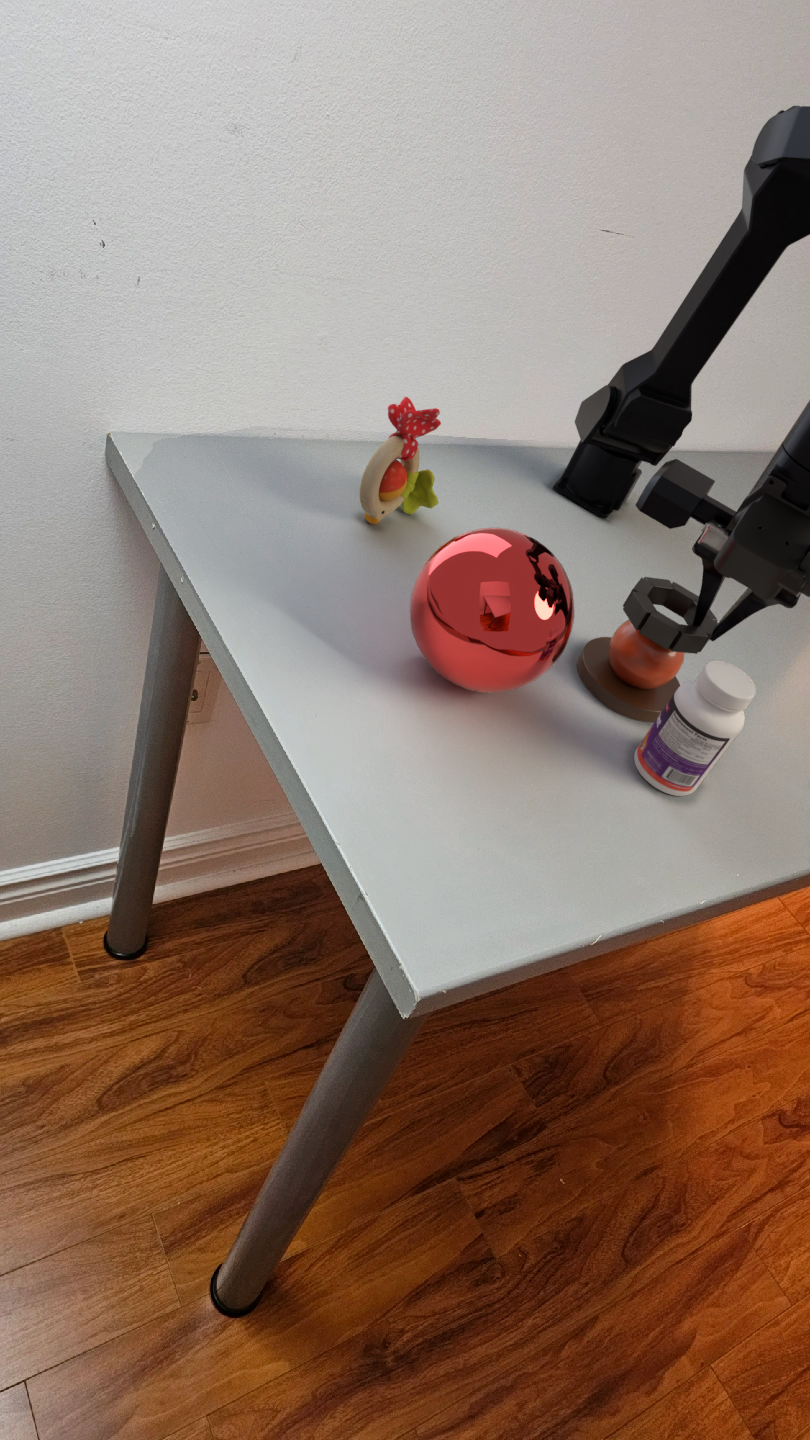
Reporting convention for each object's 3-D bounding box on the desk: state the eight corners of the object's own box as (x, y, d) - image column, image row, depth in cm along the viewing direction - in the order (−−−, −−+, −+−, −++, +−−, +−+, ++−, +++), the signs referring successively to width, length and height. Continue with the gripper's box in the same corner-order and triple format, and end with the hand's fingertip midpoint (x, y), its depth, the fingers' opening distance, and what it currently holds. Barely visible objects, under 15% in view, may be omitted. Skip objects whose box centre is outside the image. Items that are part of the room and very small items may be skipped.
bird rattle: (392, 559, 93) (449, 498, 97) (406, 474, 83) (468, 409, 87) (335, 523, 94) (394, 463, 98) (342, 435, 84) (407, 373, 88)
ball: (364, 618, 82) (418, 487, 74) (492, 620, 88) (553, 500, 80) (424, 729, 74) (489, 598, 67) (558, 723, 80) (633, 602, 73)
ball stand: (561, 678, 85) (598, 616, 81) (596, 633, 92) (631, 574, 88) (658, 738, 84) (700, 679, 79) (686, 688, 90) (726, 630, 86)
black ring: (613, 617, 81) (624, 599, 80) (638, 584, 87) (649, 566, 86) (692, 665, 80) (705, 647, 79) (713, 628, 86) (725, 611, 85)
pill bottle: (656, 738, 84) (721, 646, 77) (708, 784, 81) (778, 694, 75) (618, 758, 80) (683, 663, 74) (671, 807, 78) (742, 713, 72)
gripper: (671, 425, 68) (566, 611, 78) (934, 574, 65) (791, 748, 75) (710, 385, 77) (612, 558, 86) (945, 516, 74) (815, 679, 83)
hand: (703, 633), depth 83 cm, fingers closed on black ring, 1 cm apart
